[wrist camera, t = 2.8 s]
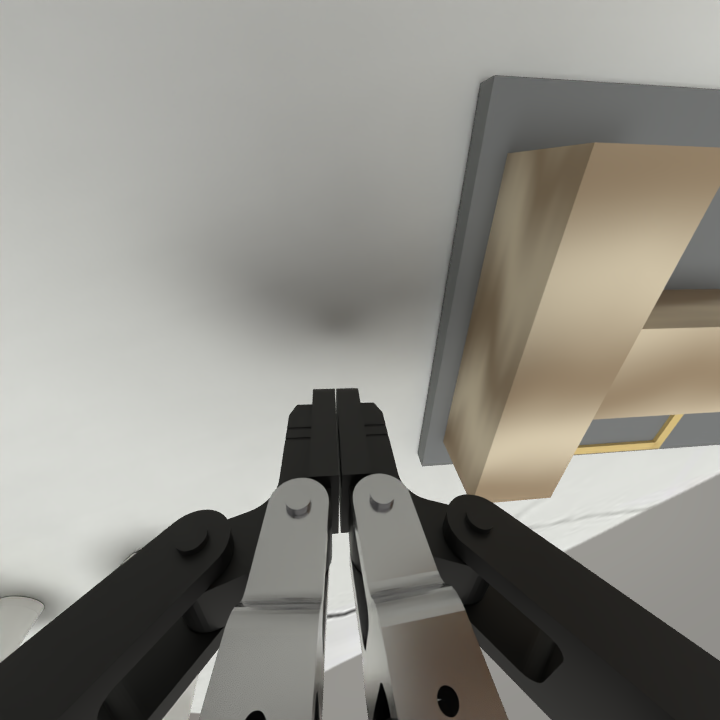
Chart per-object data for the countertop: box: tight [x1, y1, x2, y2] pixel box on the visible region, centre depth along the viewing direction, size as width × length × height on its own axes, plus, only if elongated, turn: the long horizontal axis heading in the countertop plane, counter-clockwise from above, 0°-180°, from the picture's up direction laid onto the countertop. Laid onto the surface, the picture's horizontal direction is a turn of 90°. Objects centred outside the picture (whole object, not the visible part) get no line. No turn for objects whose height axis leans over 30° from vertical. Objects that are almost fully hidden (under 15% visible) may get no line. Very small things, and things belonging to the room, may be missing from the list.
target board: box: [418, 75, 720, 466], centre depth 16 cm, size 18×24×1 cm
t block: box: [443, 142, 720, 503], centre depth 13 cm, size 14×12×4 cm
